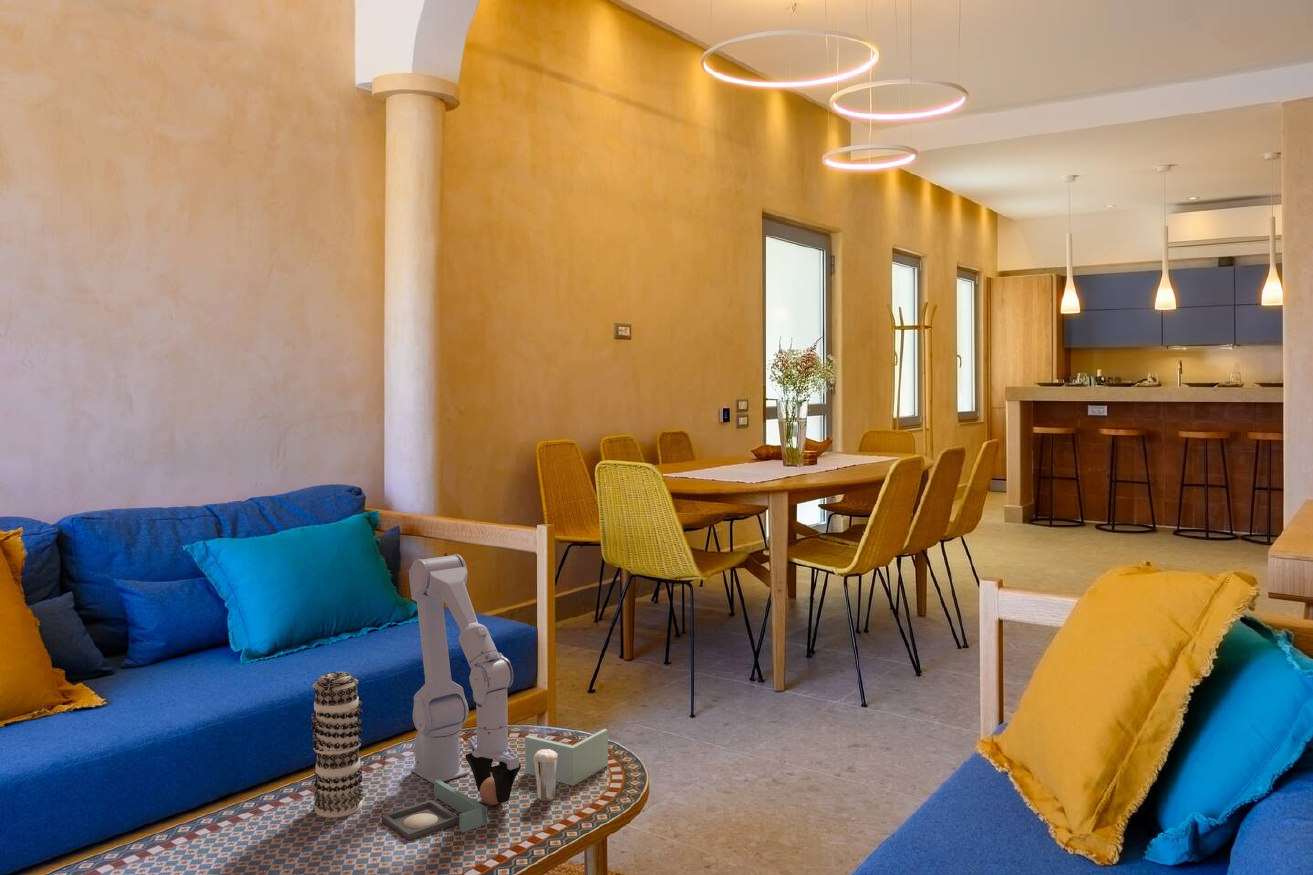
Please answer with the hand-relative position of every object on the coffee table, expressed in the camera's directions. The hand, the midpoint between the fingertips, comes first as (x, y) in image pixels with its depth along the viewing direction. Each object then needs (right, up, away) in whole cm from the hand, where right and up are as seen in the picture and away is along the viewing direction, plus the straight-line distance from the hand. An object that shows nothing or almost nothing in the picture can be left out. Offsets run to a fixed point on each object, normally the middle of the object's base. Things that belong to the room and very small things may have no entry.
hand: (493, 795), depth 185 cm
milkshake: (+10, -2, +2) cm, 10 cm away
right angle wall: (+12, -1, +16) cm, 21 cm away
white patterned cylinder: (-28, -2, -1) cm, 28 cm away
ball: (0, -2, 0) cm, 2 cm away
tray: (-12, -2, -8) cm, 14 cm away
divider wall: (-7, -2, -4) cm, 8 cm away
